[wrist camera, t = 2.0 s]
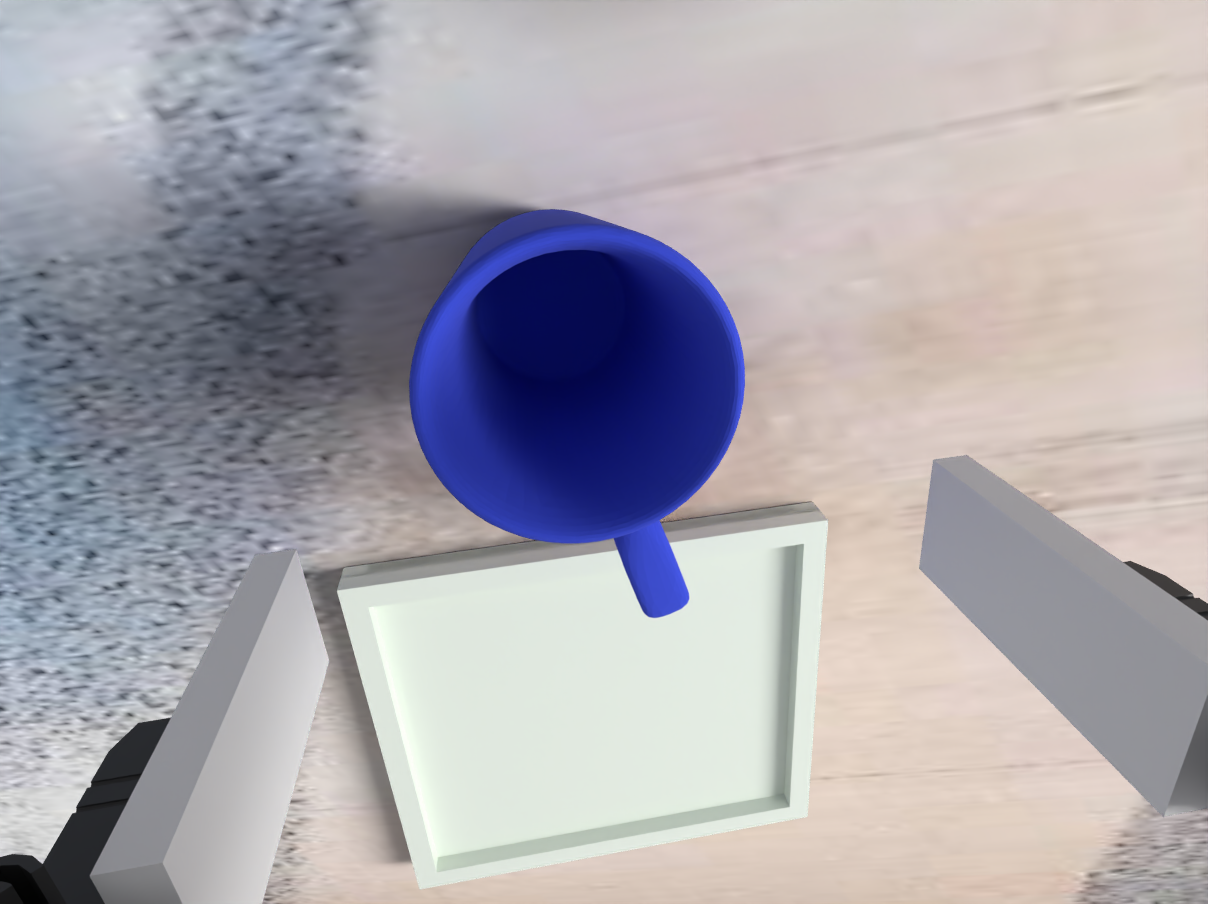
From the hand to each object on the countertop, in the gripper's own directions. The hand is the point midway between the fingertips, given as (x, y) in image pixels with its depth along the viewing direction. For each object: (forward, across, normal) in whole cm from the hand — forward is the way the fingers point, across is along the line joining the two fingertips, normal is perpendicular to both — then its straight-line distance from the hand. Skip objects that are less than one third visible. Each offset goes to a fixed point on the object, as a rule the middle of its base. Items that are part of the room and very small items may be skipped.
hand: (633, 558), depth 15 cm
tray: (+14, 0, -17) cm, 22 cm away
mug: (+14, 0, 0) cm, 14 cm away
